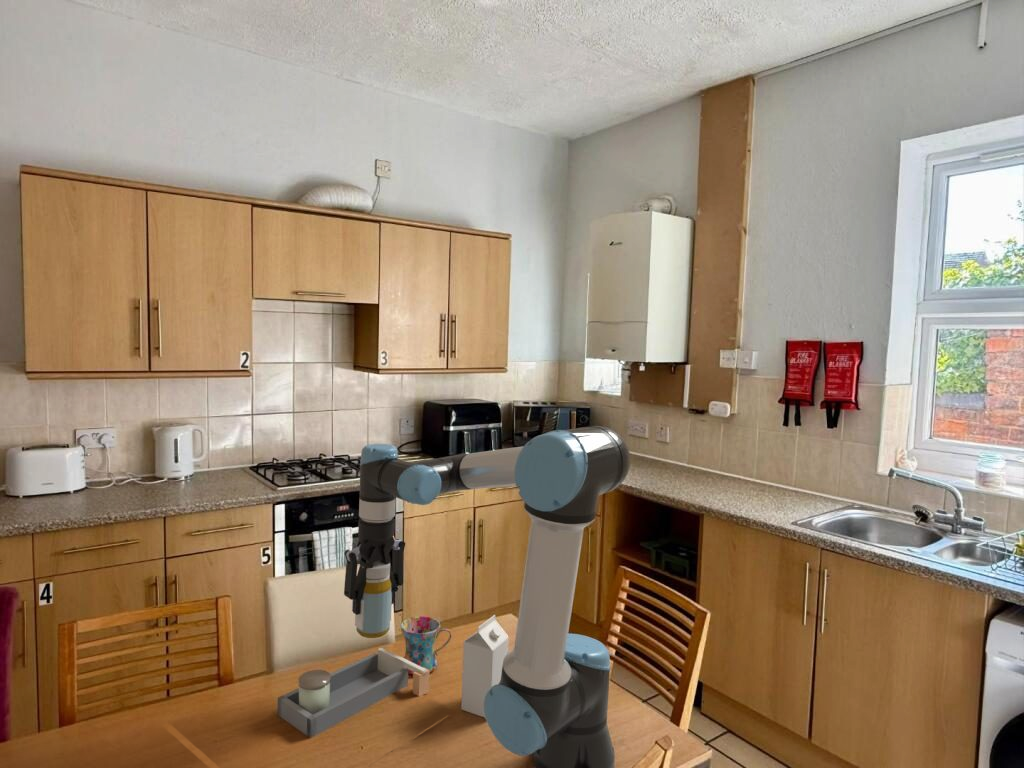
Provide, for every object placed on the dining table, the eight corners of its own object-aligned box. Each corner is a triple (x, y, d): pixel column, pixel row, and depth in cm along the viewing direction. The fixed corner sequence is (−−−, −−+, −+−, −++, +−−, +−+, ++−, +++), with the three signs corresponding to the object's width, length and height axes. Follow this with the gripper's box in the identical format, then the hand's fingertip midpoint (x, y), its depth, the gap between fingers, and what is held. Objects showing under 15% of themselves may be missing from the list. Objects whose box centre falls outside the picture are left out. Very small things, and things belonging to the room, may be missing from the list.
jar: (336, 714, 131) (336, 677, 130) (309, 728, 126) (310, 689, 125) (318, 703, 134) (318, 666, 134) (291, 716, 130) (292, 678, 129)
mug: (399, 679, 146) (400, 634, 146) (399, 659, 155) (400, 616, 155) (452, 676, 148) (453, 632, 148) (449, 656, 158) (450, 614, 157)
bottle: (395, 627, 139) (398, 561, 138) (378, 642, 133) (380, 572, 131) (368, 621, 142) (370, 555, 140) (349, 634, 135) (351, 566, 134)
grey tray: (407, 688, 143) (408, 669, 142) (310, 741, 123) (310, 720, 123) (374, 670, 150) (374, 652, 149) (277, 718, 130) (277, 697, 130)
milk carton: (461, 710, 135) (463, 623, 134) (478, 694, 141) (481, 610, 140) (490, 720, 132) (493, 631, 130) (506, 703, 138) (509, 618, 137)
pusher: (429, 691, 141) (429, 667, 140) (419, 697, 138) (419, 672, 138) (384, 667, 150) (384, 645, 150) (374, 672, 148) (374, 650, 147)
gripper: (404, 506, 144) (400, 605, 146) (327, 520, 131) (324, 629, 133) (423, 514, 139) (419, 617, 141) (345, 530, 126) (342, 643, 128)
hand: (373, 623), depth 137 cm, fingers closed on bottle, 6 cm apart
